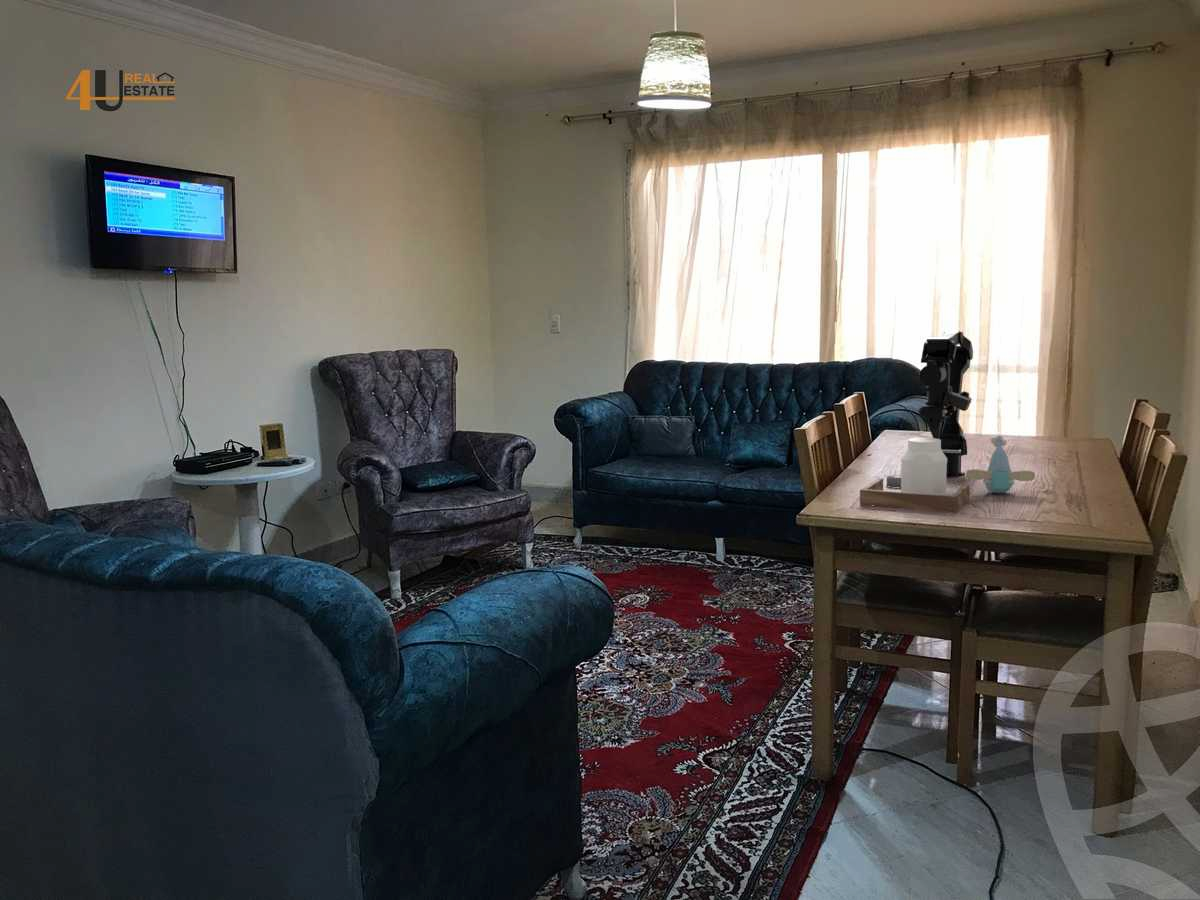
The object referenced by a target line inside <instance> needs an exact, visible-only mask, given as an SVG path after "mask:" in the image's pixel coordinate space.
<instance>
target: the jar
mask: <svg viewBox="0 0 1200 900" xmlns="http://www.w3.org/2000/svg"><path fill="white" fill-rule="evenodd" d="M900 461H901V462H900V463H901V469H900V470H901V471H900V472H901V488H900V492H909V493H923V494H937V495H947V476H946V471H947V458H946V456H945V455H944V453H943V452H942V450H941V440H940V439H936V438H933V437H912V438H909V439H907V448H906V451H905V452H904V453H903V455H902V456H901V458H900Z"/></svg>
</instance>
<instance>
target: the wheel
mask: <svg viewBox="0 0 1200 900" xmlns="http://www.w3.org/2000/svg"><path fill="white" fill-rule="evenodd" d="M887 486H890V487H889V488H891V487H901V475H897V474H896V475H895V474H894V475H888V476H886V487H887Z"/></svg>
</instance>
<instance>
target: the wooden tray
mask: <svg viewBox="0 0 1200 900" xmlns="http://www.w3.org/2000/svg"><path fill="white" fill-rule="evenodd" d="M970 490H971V484H970V483H963V485H962V486H961V487H959V488H958V489H957V490H956V491H955V492H954V493H953V494H951V495H950V494H949V495H948V494H946V495H937V494H923V493H909V492H901V491H893V490H884V477H883V478H882V477H878V478H876V479H875V480H874V481H872V482H870V483H868V484H867V485H865V486H864V487H862V488H861V489H859V505H860V504H862V505H861V506H863V505H874V506H873V507H875V506H882V507H881V508H888V507H892V508H891V509H900V508H904V510H913V509H918V510H917V511H925V510H928V512H939V513H940V512H941V513H951V514H952V513H953V514H956V513H957V512H958V511H959V510H961V508H962V507H963V506H964V505H965V504H967V502H968V501H969V500H970V495H971V494H970Z"/></svg>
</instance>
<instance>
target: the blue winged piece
mask: <svg viewBox="0 0 1200 900" xmlns="http://www.w3.org/2000/svg"><path fill="white" fill-rule="evenodd" d="M990 442H991V443H992V444H993V446H994V447H995V450H994V451H993V453H992V454H991V456H990V460H989V464H988V467H987V470H983V469H973V468H972V469H968V470H966V471H965V477H966V479H968V480H974V481H977V480H979V481H980V480H983V482H982V483H983V484H984V486H985V488H986V489H987V490H988V491H990V492H991V493H993V494H1005V493H1007V492H1008V491H1010V490H1011V489H1012V487H1013V485H1014V484H1015V481H1019V482H1020V481H1021V482H1031V481H1034V480H1035V477H1036V474H1035V472H1034V471H1032V470H1012V469H1011V466H1010V463H1009V459H1008V455H1007V452H1006V451H1005V450H1004V449H1003V447H1004V446H1006V445H1007V444H1008V443H1007V440H1006V439H1004V438H1003V436H1002V435H1001V434H1000V435H997V436H996V437H995V436H993V437H992V438H991V439H990Z"/></svg>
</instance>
